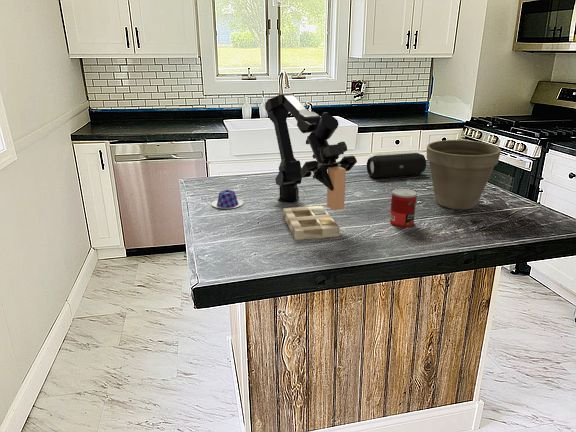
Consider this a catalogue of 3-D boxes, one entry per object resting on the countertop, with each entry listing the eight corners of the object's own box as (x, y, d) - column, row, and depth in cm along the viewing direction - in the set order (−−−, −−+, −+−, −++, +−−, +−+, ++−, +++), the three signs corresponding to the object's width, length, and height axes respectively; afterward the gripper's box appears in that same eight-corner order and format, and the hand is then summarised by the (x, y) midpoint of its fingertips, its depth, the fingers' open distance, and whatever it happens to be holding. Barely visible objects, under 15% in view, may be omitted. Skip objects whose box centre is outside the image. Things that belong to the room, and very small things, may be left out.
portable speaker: (374, 180, 197) (375, 158, 193) (365, 174, 206) (366, 153, 202) (426, 176, 202) (428, 155, 199) (415, 171, 211) (417, 150, 208)
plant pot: (453, 219, 153) (461, 157, 145) (407, 198, 174) (413, 143, 166) (506, 208, 162) (517, 150, 154) (457, 190, 183) (464, 137, 175)
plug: (326, 206, 145) (328, 167, 140) (337, 204, 147) (338, 166, 142) (333, 210, 142) (335, 170, 137) (344, 208, 143) (345, 169, 139)
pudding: (221, 198, 176) (220, 185, 174) (248, 201, 172) (248, 188, 170) (205, 208, 165) (204, 194, 163) (234, 212, 161) (234, 198, 160)
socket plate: (283, 216, 156) (283, 207, 155) (321, 213, 158) (322, 204, 157) (295, 240, 137) (295, 230, 136) (339, 236, 140) (339, 226, 138)
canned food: (409, 229, 145) (412, 197, 141) (386, 224, 149) (388, 193, 145) (416, 221, 151) (420, 190, 147) (394, 217, 155) (396, 187, 151)
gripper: (304, 136, 135) (323, 180, 130) (355, 130, 143) (374, 172, 138) (292, 156, 144) (309, 198, 139) (340, 150, 152) (358, 189, 147)
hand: (338, 189), depth 141 cm, fingers closed on plug, 4 cm apart
